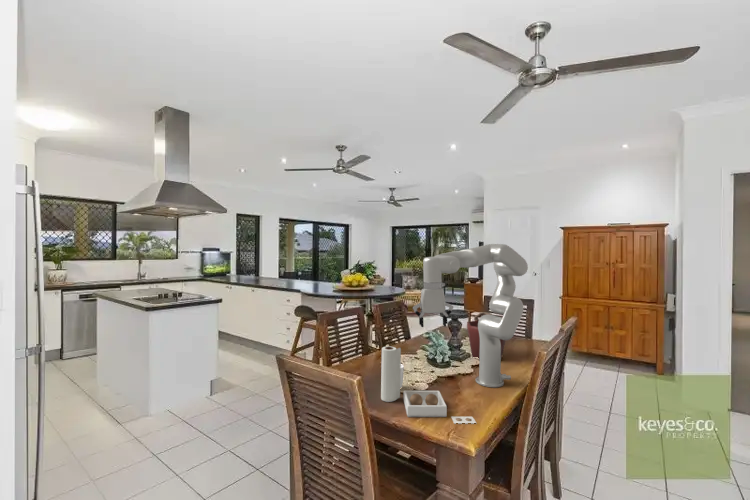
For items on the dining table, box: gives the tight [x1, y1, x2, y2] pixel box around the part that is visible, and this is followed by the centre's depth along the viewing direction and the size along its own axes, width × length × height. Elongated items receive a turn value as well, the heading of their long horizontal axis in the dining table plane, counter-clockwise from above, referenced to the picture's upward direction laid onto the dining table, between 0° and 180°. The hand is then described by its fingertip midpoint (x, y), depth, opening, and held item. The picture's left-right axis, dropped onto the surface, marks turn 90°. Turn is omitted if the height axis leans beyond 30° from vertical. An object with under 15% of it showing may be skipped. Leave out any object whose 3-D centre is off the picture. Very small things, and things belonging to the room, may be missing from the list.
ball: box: [425, 394, 438, 405], centre depth 145 cm, size 5×5×5 cm
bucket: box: [466, 312, 506, 358], centre depth 213 cm, size 24×22×25 cm
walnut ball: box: [410, 394, 423, 405], centre depth 145 cm, size 5×5×5 cm
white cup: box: [400, 363, 405, 388], centre depth 165 cm, size 8×8×10 cm
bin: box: [403, 390, 448, 418], centre depth 145 cm, size 15×15×4 cm
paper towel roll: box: [380, 346, 402, 403], centre depth 153 cm, size 7×6×21 cm
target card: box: [450, 416, 477, 425], centre depth 136 cm, size 8×5×1 cm, turn 91°
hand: (433, 326), depth 158 cm, fingers open, 9 cm apart
